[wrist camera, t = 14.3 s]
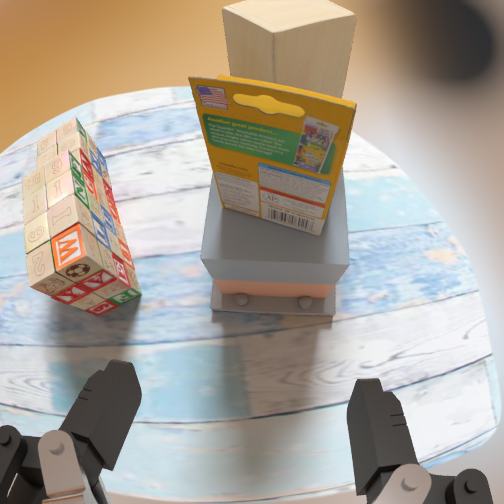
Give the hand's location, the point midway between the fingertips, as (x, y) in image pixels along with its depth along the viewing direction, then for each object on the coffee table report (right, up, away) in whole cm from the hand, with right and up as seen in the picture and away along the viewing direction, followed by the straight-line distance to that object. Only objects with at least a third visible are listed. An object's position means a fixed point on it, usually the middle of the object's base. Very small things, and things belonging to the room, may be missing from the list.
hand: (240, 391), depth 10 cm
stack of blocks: (-18, +8, +26) cm, 32 cm away
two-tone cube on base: (+3, +4, +23) cm, 23 cm away
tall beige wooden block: (+4, +15, +27) cm, 31 cm away
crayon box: (+2, +8, +12) cm, 15 cm away
